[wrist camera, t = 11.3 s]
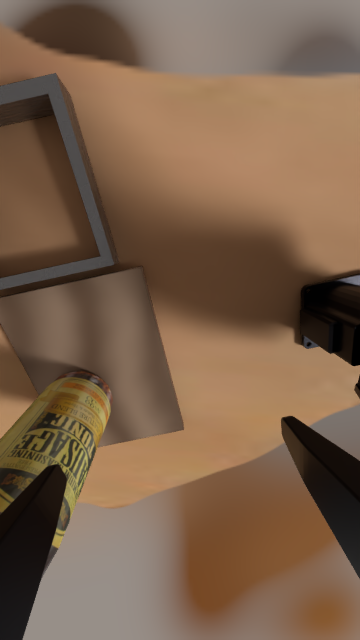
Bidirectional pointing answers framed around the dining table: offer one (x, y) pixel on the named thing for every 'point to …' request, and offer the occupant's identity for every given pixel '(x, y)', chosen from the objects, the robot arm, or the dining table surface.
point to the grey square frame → (55, 99)
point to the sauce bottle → (56, 441)
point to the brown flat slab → (99, 347)
